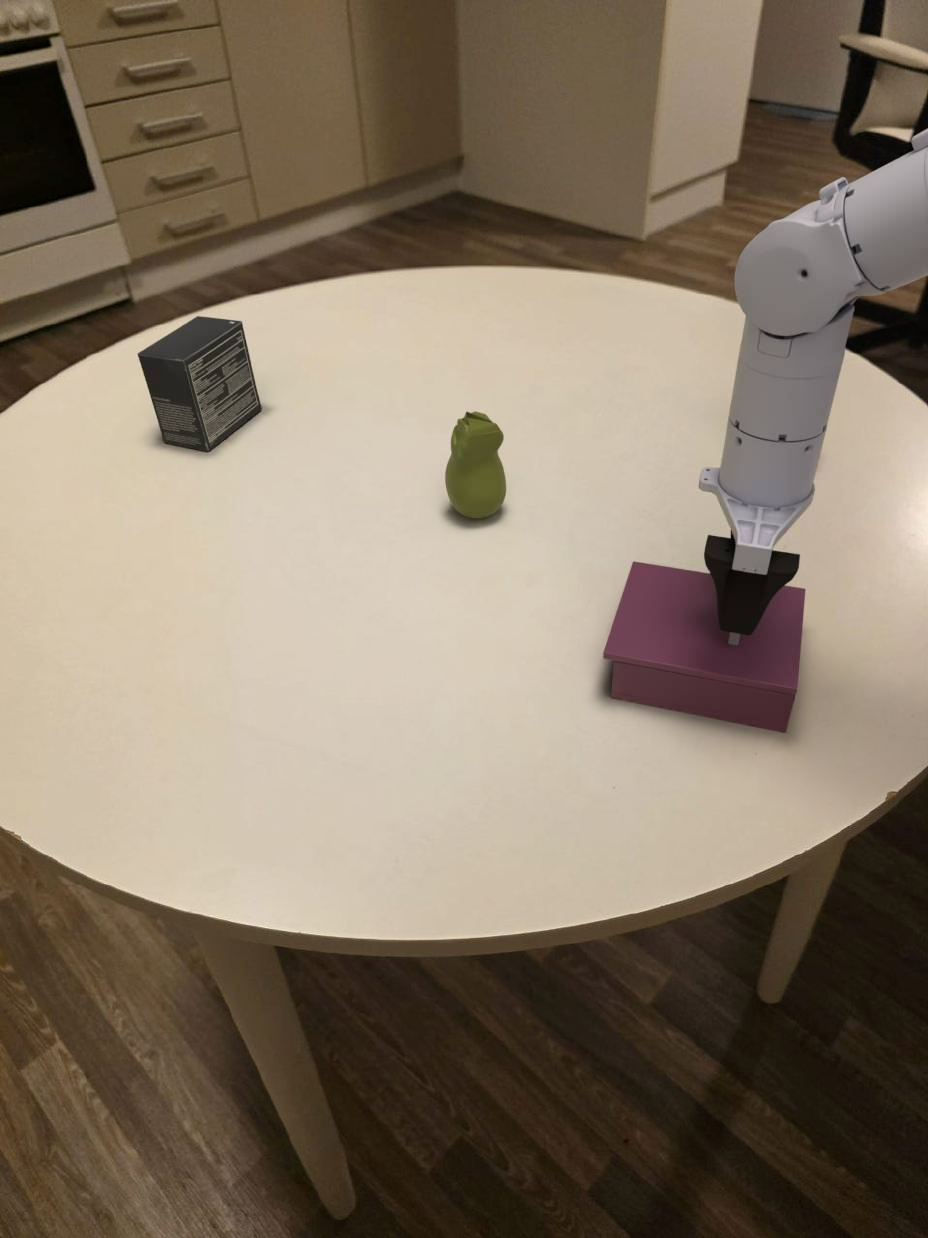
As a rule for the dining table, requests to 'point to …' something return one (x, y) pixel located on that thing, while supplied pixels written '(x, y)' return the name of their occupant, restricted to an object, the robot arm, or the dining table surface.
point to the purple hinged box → (702, 696)
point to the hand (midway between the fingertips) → (741, 595)
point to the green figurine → (475, 467)
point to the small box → (201, 382)
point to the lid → (704, 631)
